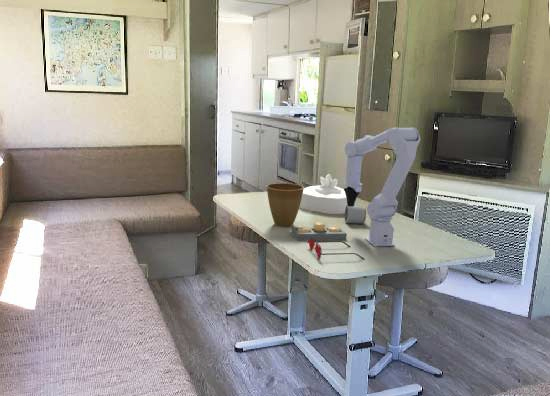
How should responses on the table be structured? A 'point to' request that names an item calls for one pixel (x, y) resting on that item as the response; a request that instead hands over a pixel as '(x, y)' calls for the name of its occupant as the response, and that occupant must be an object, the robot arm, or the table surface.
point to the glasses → (319, 251)
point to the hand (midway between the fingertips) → (350, 206)
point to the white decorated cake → (325, 197)
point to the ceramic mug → (355, 214)
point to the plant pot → (284, 202)
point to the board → (318, 234)
